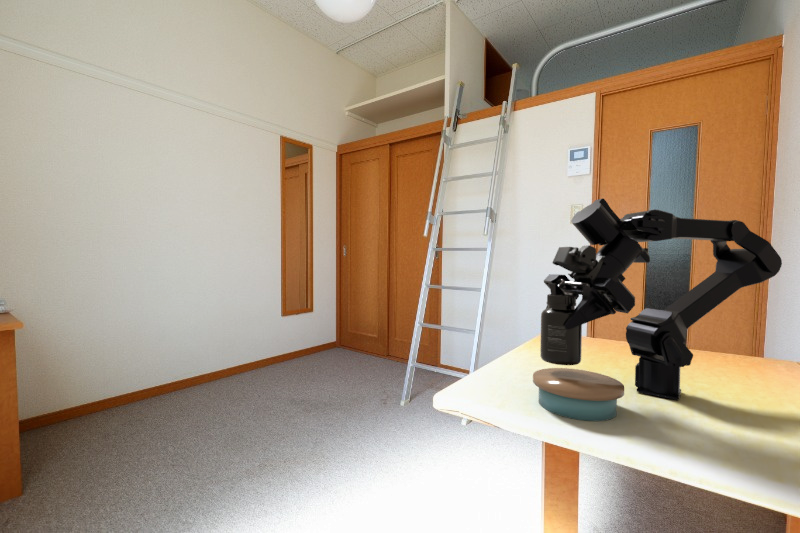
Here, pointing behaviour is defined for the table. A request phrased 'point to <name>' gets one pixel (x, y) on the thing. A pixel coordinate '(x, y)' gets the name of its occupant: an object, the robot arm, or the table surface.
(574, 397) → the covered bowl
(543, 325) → the supplement bottle
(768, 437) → the table surface
